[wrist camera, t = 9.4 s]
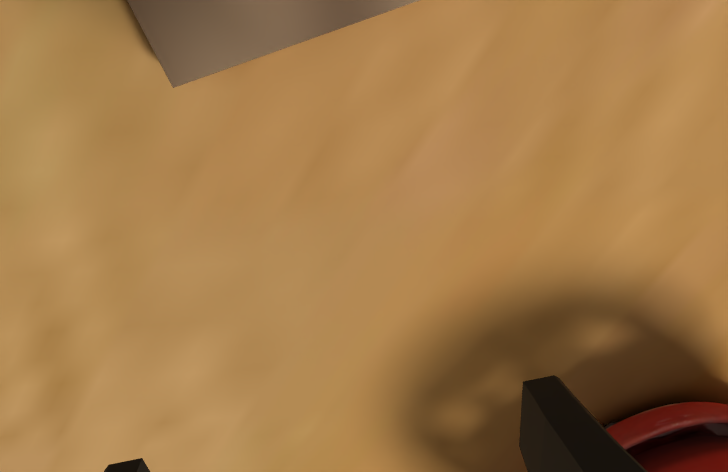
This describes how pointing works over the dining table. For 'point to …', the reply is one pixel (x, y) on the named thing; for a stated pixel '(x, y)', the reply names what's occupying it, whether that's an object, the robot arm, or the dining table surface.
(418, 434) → the dining table surface
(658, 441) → the plant pot
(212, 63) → the socket board
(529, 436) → the robot arm
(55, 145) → the dining table surface
